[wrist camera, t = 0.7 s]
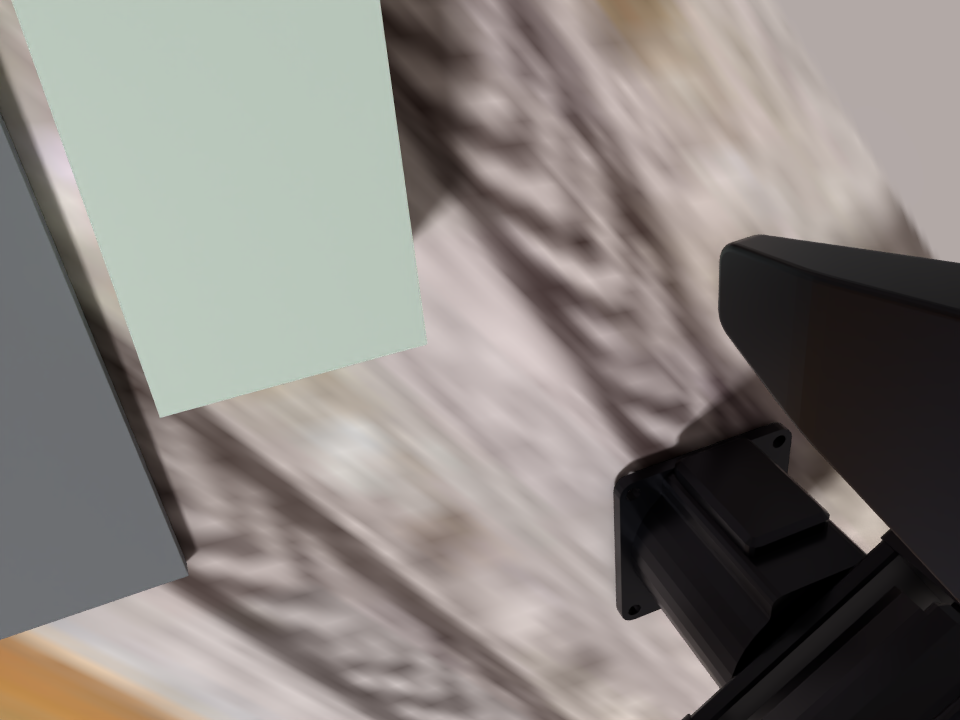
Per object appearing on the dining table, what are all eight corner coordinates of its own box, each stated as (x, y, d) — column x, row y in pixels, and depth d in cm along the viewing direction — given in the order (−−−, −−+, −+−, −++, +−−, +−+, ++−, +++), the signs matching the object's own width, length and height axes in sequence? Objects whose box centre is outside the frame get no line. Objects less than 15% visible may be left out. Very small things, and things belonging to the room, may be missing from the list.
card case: (376, 267, 22) (427, 344, 19) (147, 323, 20) (160, 417, 17) (306, -153, 17) (359, -146, 14) (-3, -117, 15) (-24, -100, 12)
